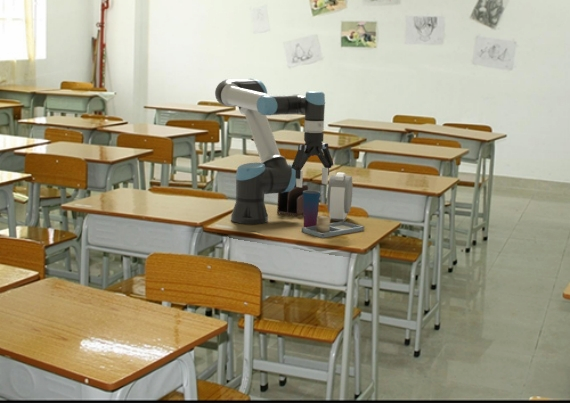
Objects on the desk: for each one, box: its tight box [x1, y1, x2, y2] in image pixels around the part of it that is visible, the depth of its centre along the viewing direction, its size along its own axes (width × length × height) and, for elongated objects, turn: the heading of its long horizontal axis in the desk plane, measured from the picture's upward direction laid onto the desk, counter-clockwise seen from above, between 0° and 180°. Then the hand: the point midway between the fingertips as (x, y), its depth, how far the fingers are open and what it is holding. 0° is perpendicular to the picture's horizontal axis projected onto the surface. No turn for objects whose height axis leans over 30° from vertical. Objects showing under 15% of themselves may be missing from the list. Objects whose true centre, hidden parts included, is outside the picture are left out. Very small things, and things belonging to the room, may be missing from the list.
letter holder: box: [276, 184, 309, 217], centre depth 351 cm, size 10×20×14 cm, turn 153°
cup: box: [302, 189, 321, 228], centre depth 317 cm, size 7×7×15 cm
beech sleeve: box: [316, 215, 331, 233], centre depth 307 cm, size 5×5×6 cm
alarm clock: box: [326, 171, 354, 222], centre depth 334 cm, size 18×8×20 cm, turn 168°
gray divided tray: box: [301, 221, 365, 239], centre depth 311 cm, size 12×22×2 cm, turn 131°
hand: (312, 185), depth 315 cm, fingers open, 13 cm apart
